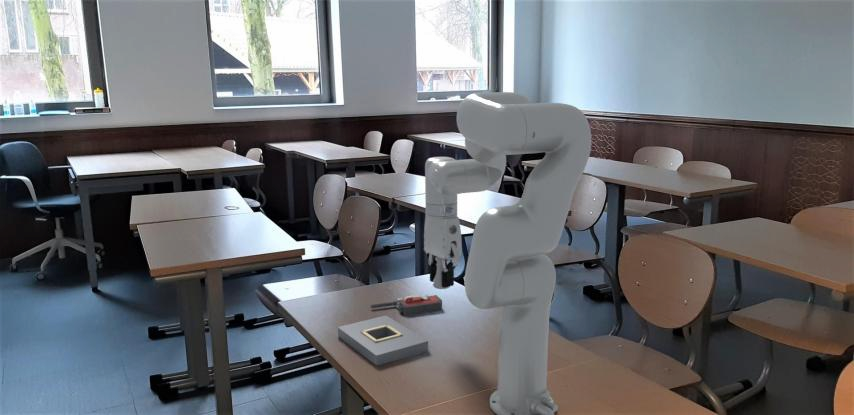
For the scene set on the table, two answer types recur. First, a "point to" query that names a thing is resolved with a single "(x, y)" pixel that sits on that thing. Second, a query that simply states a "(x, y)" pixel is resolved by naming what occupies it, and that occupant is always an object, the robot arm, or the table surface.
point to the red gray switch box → (414, 304)
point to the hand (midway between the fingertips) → (441, 282)
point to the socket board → (382, 340)
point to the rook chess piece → (439, 275)
